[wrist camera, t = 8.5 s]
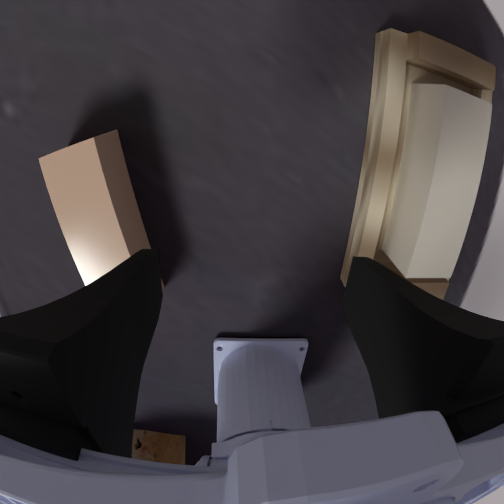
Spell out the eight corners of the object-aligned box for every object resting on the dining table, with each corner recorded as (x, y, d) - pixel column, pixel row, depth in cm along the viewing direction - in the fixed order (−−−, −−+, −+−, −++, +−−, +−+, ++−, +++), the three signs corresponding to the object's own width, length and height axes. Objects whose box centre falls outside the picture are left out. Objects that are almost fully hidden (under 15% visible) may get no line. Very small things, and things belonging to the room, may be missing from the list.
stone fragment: (165, 441, 44) (215, 513, 34) (110, 461, 37) (156, 539, 28) (165, 399, 37) (231, 492, 27) (93, 422, 30) (150, 529, 21)
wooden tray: (431, 278, 24) (452, 301, 21) (339, 277, 24) (354, 305, 20) (475, 70, 16) (506, 72, 13) (375, 33, 15) (401, 24, 12)
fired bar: (165, 285, 24) (155, 318, 20) (119, 292, 24) (104, 324, 20) (118, 128, 18) (93, 137, 14) (68, 146, 18) (38, 158, 15)
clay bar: (424, 251, 22) (450, 277, 19) (381, 249, 22) (405, 278, 18) (455, 98, 17) (492, 104, 13) (410, 83, 16) (446, 84, 13)
